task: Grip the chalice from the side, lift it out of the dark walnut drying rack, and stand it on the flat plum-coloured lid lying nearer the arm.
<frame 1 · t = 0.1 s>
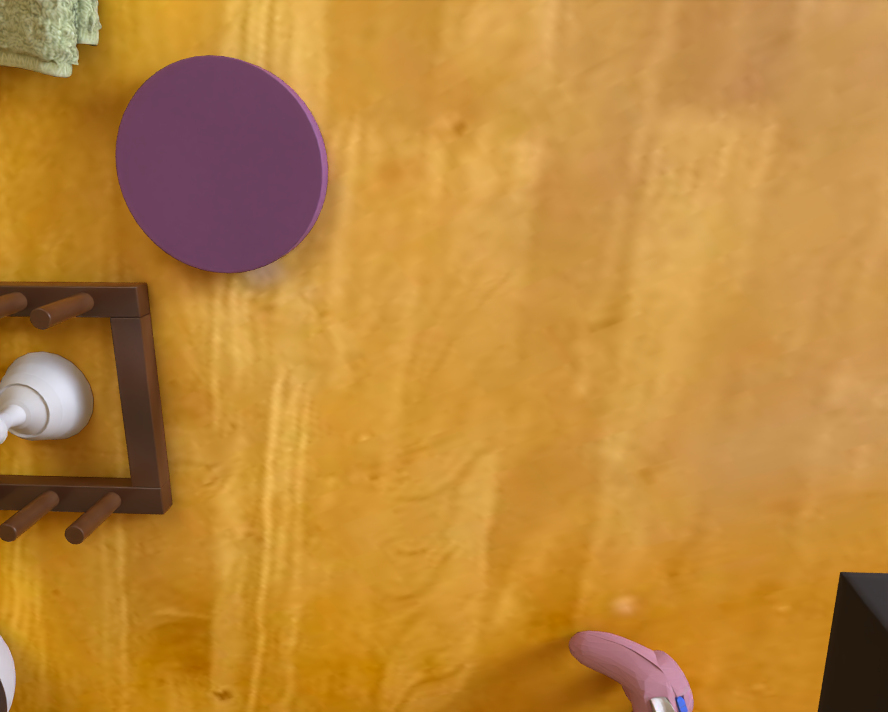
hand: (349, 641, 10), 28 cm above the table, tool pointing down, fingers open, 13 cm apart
drying rack: (47, 396, 40), on the table
lid: (227, 167, 36), on the table
chalice: (49, 395, 41), resting in drying rack
video game controller: (625, 690, 43), on the table
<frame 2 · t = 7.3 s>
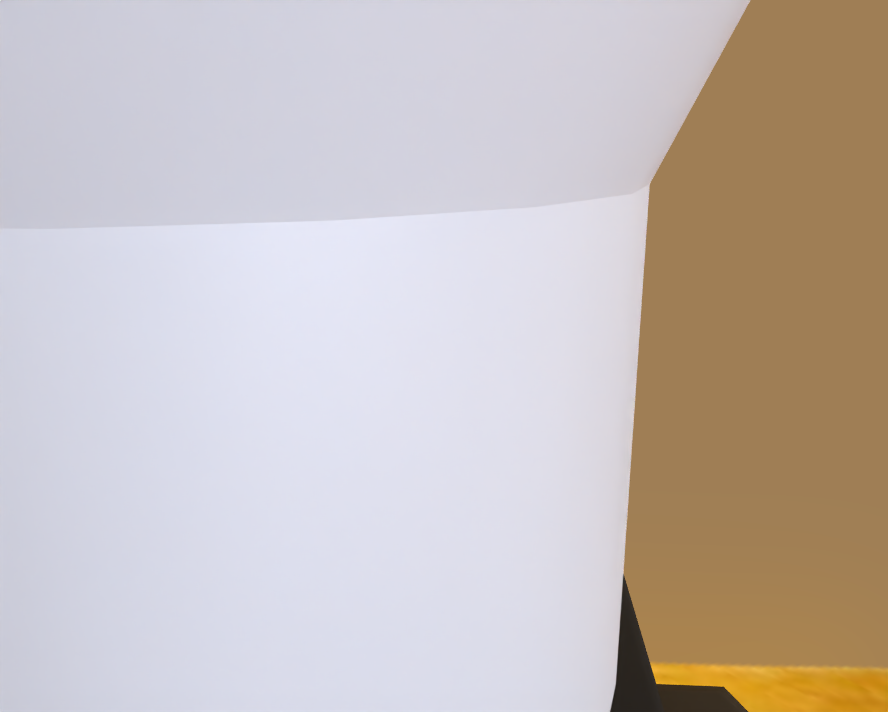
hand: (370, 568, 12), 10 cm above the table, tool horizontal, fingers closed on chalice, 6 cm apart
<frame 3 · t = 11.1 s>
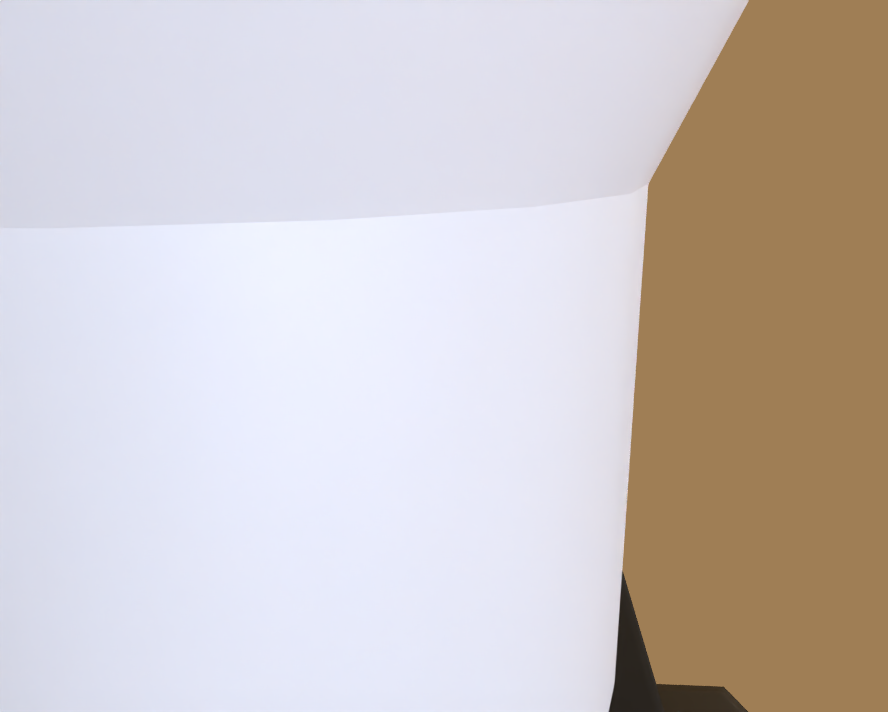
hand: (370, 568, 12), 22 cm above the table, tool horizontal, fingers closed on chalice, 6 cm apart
when the fingers open (12 cm above the table, at t = 14.9 s): chalice stays where it is, resting on lid.
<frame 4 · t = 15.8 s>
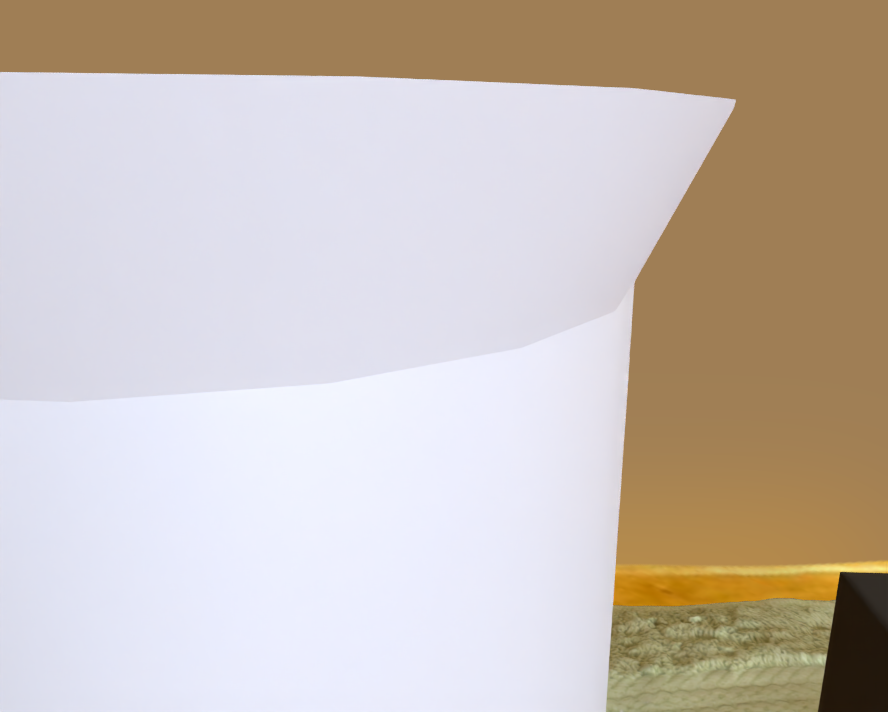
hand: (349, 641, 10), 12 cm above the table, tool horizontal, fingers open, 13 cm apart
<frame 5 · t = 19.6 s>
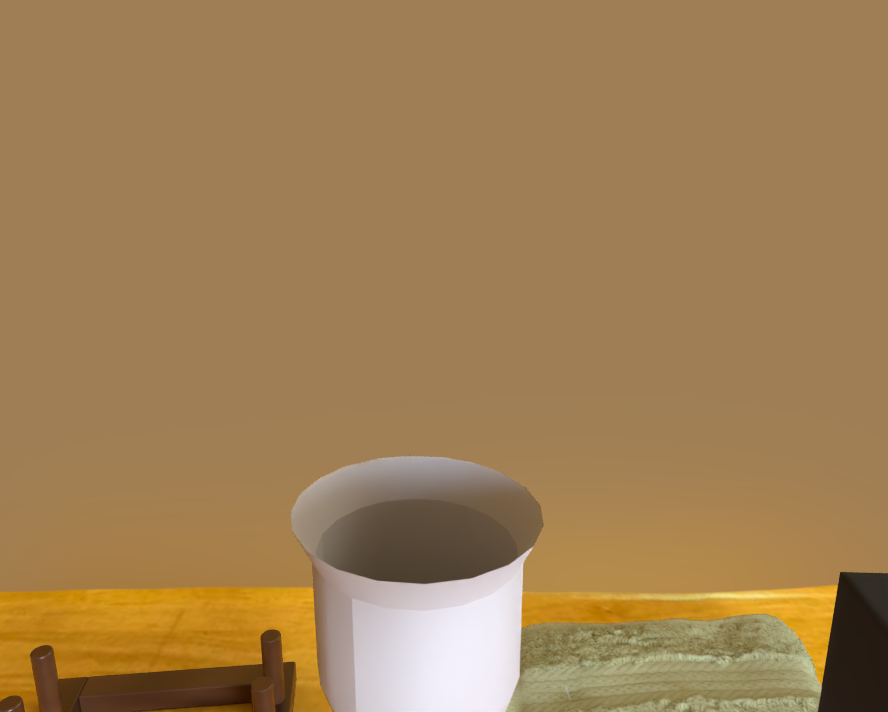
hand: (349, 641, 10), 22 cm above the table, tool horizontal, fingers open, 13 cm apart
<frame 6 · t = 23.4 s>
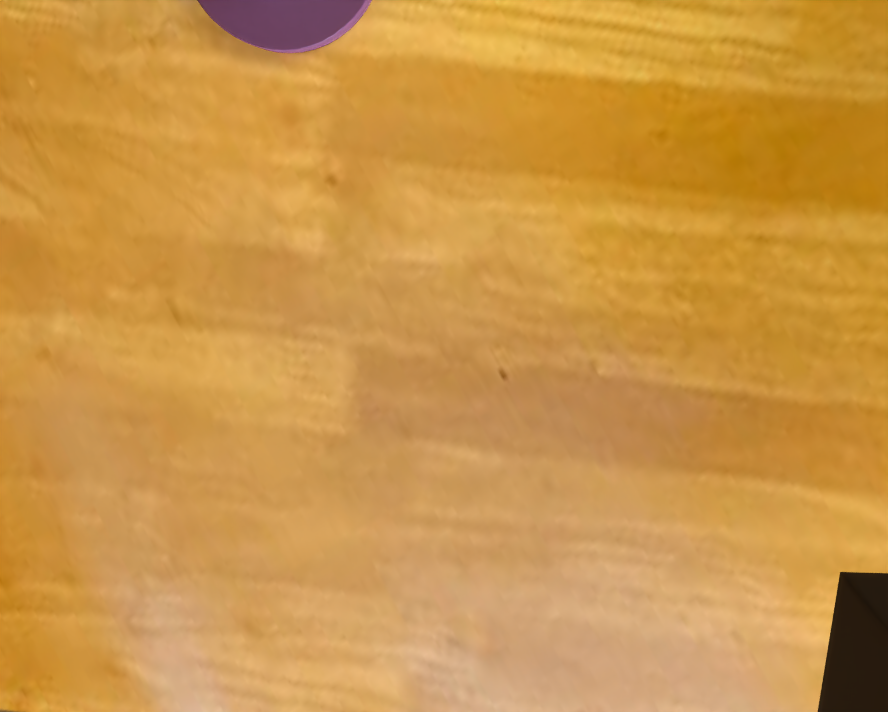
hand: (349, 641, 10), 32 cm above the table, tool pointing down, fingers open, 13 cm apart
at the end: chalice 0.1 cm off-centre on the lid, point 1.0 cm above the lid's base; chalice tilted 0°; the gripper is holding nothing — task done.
